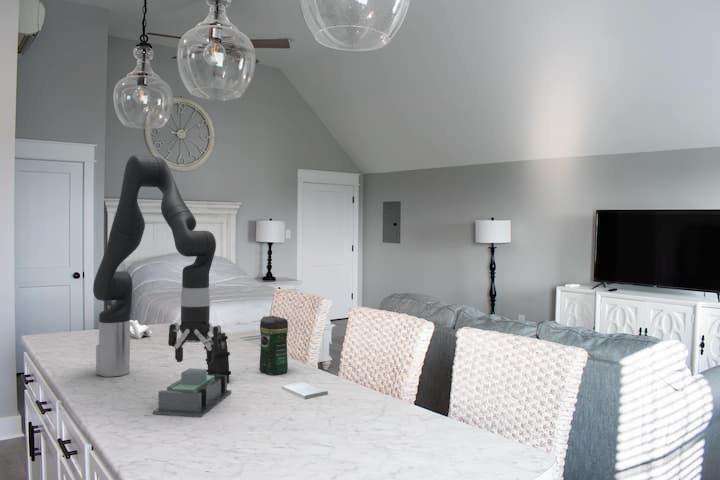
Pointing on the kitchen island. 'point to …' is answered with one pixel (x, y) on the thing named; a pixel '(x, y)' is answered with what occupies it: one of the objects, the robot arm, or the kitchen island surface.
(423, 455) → the kitchen island surface
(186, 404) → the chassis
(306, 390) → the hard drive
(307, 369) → the kitchen island surface
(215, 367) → the magazine
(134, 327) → the white irregular lump
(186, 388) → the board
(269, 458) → the kitchen island surface
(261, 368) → the coffee jar
